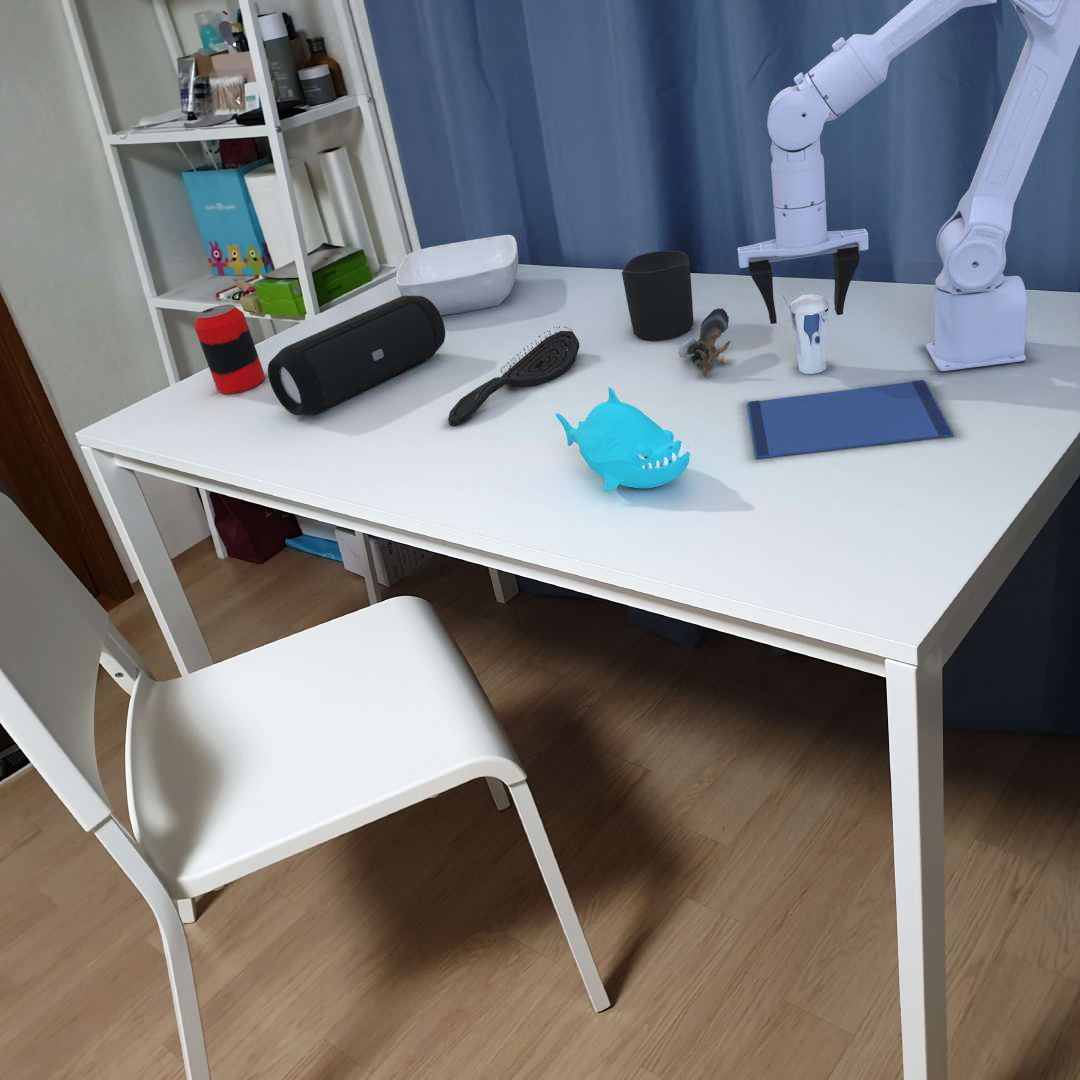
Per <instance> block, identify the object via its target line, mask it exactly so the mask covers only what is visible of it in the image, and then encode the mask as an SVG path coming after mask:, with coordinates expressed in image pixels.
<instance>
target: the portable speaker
mask: <svg viewBox="0 0 1080 1080" xmlns="http://www.w3.org/2000/svg"><path fill="white" fill-rule="evenodd" d="M445 340H446V327H445V322H444V319H443V317H442V316H441V315H440V313H439V311H438V309H437V308H436V307H435V305H434V304H433V303H432V302H431V301H430V300H429V299H427V298H425V297H423V296H402V295H400V296H399V297H396V298H394V299H391V300H390V301H389V300H388V301H387V302H385V303H383V304H380V305H378V306H376V307H373V308H371V309H368V310H365V311H364V312H362V313H359V314H357V315H355V316H353V317H350V318H348V319H346V320H343V321H341V322H339V323H336V324H334V325H332V326H330V327H327V328H325V329H322V330H320V331H318V332H316V333H314V334H311V335H309V336H307V337H304V338H302V339H300V340H298V341H296V342H293V343H291V344H289V345H287V346H285V347H283V348H281V350H279V352H278V353H277V354H275V355H274V356H273V358H272V359H270V361H269V363H268V364H267V376H268V381H269V383H270V384H269V385H270V387H271V389H272V390H273V394H274V395H275V397H276V398H277V400H278V401H279V403H280V404H281V406H282V407H283V408H284V409H285V410H286V411H287V412H289V413H290V414H291V415H294V416H306V415H318V414H321V413H323V412H325V411H327V410H330V409H331V408H333V407H335V406H338V405H340V404H341V403H344V402H346V401H348V400H350V399H352V398H354V397H356V396H358V395H361V394H363V393H364V392H366V391H368V390H371V389H372V388H375V387H376V386H378V385H381V384H383V383H386V382H387V381H389V380H391V379H393V378H395V377H397V376H399V375H401V374H403V373H405V372H407V371H409V370H411V369H413V368H415V367H417V366H419V365H421V364H423V363H425V362H426V361H427V360H429V359H431V358H433V356H435V355H436V353H437V352H438V351H439V349H441V347H442V346H443V344H444V343H445Z"/></svg>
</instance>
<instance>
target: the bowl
mask: <svg viewBox="0 0 1080 1080" xmlns="http://www.w3.org/2000/svg"><path fill="white" fill-rule="evenodd" d="M517 243H518V242H517V240H516V238H515V236H514V235H512V234H503V235H494V236H488V237H482V238H475V239H470V240H463V241H457V242H452V243H445V244H440V245H435V246H429V247H425V248H421V249H417V250H413V251H412V252H410V253H408V254H407V255H406V256H405V257H404V258H403V260H402V261H401V262H400V264H399V267H398V268H397V271H396V275H395V284H396V286H397V289H398V291H399V294H400V296H423V297H425V298H427V299H429V300H430V301H431V302H432V303H433V304H434V305H435V307H436V308H437V309H438V311H439V313H440V315H441V317H442V316H449V315H455V314H460V313H461V314H462V313H466V312H467V313H468V312H472V311H477V310H483V309H489V308H493V307H498V306H500V305H501V304H502V303H503V301H504V300H505V299H507V297H508V296H509V295H510V293H511V291H512V290H513V288H514V284H515V281H516V279H517V274H518V268H519V251H518V244H517Z"/></svg>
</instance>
